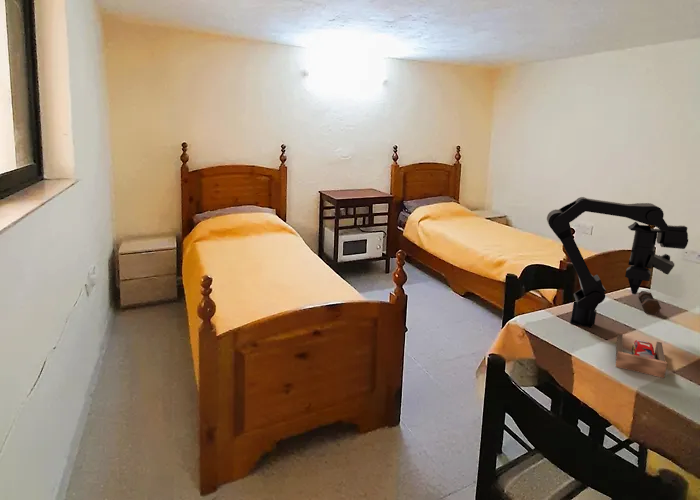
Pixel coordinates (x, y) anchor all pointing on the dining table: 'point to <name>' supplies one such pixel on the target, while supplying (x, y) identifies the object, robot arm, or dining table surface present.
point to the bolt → (649, 302)
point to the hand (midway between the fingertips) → (634, 293)
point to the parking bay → (641, 360)
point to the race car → (643, 349)
